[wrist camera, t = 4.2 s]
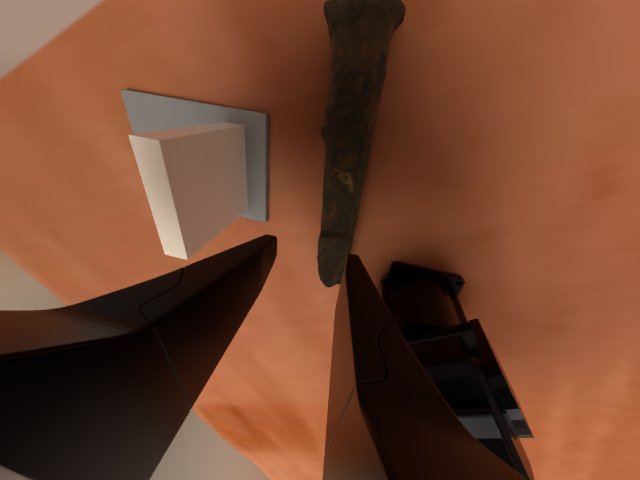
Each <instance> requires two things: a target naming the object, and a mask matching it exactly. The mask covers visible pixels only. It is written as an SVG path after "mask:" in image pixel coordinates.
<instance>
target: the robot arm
mask: <svg viewBox="0 0 640 480" xmlns="http://www.w3.org/2000/svg"><path fill="white" fill-rule="evenodd" d="M276 255H277V237H276V236H272V235H268V234H266V235H264V236H261V237H259V238H256V239H253V240H251V241H248V242H246V243H243V244H241V245H238V246H236V247H233V248H231V249H228V250H226V251H223V252H221V253H218V254H215V255H213V256H210V257H208V258H205V259H203V260H200V261H198V262H195V263H193V264H190V265H188V266H185V268H180V269H177V270H175V271H172V272H170V273H167V274H164V275H162V276H159V277H156V278H154V279H151V280H148V281H145V282H142V283H139V284H136V285H133V286H130V287H127V288H124V289H121V290H118V291H115V292H112V293H108V294H105V295H102V296H99V297H96V298H93V299H90V300H87V301H84V302H81V303H77V304H74V305H70V306H66V307H61V308H55V309H48V310H34V311H0V480H149V479H150V477H151V476H152V474H153V472H154V471H155V469H156V467H157V466H158V464H159V462H160V461H161V459H162V457H163V456H164V454H165V452H166V451H167V449H168V447H169V446H170V444H171V442H172V441H173V439H174V437H175V435H176V434H177V432H178V430H179V429H180V427H181V425H182V424H183V422H184V420H185V419H186V417H187V415H188V413H189V412H190V409H191V408H192V407H193V405H194V403H195V402H196V400H197V398H198V397H199V395H200V393H201V391H202V390H203V388H204V386H205V385H206V383H207V381H208V380H209V378H210V376H211V375H212V373H213V371H214V370H215V368H216V366H217V365H218V363H219V361H220V360H221V358H222V356H223V354H224V353H225V351H226V349H227V348H228V346H229V344H230V343H231V341H232V339H233V338H234V336H235V334H236V333H237V331H238V329H239V328H240V326H241V324H242V323H243V321H244V319H245V317H246V316H247V314H248V312H249V311H250V309H251V307H252V306H253V304H254V302H255V301H256V299H257V297H258V296H259V294H260V292H261V290H262V288H263V286H264V284H265V282H266V279H267V277H268V275H269V273H270V270H271V268H272V266H273V263H274V261H275V259H276ZM394 267H398V268H394ZM457 281H459V282H457ZM464 284H465V282H464V280H463V278H462V277H460V276H457V275H452V274H448V273H444V272H439V271H435V270H431V269H426V268H422V267H418V266H413V265H409V264H405V263H400V262H393V263H392V264H391V266H390V268H389V271H388V273H387V276H386V278H385V279H383V280H381V282H380V285H379V287H378V290H377V288H376V287H375V285H374V283H373V281H372V279H371V277H370V276H369V274H368V272H367V270H366V268H365V267H364V265H363V263H362V261H361V259H360V257H359V256H358V255H354V254H350V253H349V254H347V258H346V262H345V266H344V270H343V274H342V279H341V284H340V289H339V294H338V298H337V303H336V309H335V320H334V334H333V347H332V361H331V374H330V388H329V401H328V415H327V428H326V442H325V456H324V468H323V480H534V476H533V472H532V468H531V465H530V462H529V460H528V458H527V455H526V453H525V451H524V449H523V446H522V444H521V442H520V440H519V437H520V438H534V437H533V434H532V432H531V430H530V427H529V425H528V423H527V420H526V418H525V416H524V414H523V411H522V409H521V407H520V404H519V402H518V400H517V398H516V395H515V393H514V391H513V389H512V387H511V385H510V383H509V381H508V378H507V376H506V374H505V372H504V370H503V368H502V366H501V364H500V362H499V360H498V358H497V356H496V354H495V352H494V350H493V348H492V346H491V344H490V342H489V340H488V338H487V336H486V334H485V332H484V330H483V328H482V326H481V324H480V322H479V320H478V319H473V320H469V321H470V322H468V321H467V319H466V316H465V314H464V312H463V309H462V307H461V304H460V302H459V299H458V297H457V295H458V293H459V292H460V290H461V289H462V287H463V286H464Z"/></svg>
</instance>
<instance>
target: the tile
mask: <svg viewBox="0 0 640 480" xmlns="http://www.w3.org/2000/svg"><path fill="white" fill-rule="evenodd" d="M129 138H130V142H131V145H132V148H133V151H134V155H135V158H136V161H137V164H138V168H139V171H140V174H141V178H142V181H143V184H144V187H145V191H146V194H147V197H148V200H149V204H150V207H151V210H152V214H153V217H154V220H155V223H156V227H157V230H158V233H159V237H160V240H161V243H162V246H163V250H164V253H165V254H166V255H170V256H174V257H178V258H182V259H186V260H188V259H190V258H191V257H192V256H193V255H194V254H196V253H197V252H198V251H199V250H200V249H202V248H203V247H204V246H205V245H206V244H207V243H209V242H210V241H211V240H212V239H213V238H215V237H216V236H217V235H218V234H219V233H221V232H222V231H223V230H224V229H225V228H227V227H228V226H229V225H230V224H231V223H233V222H234V221H235V220H236V219H237V218H239V217H240V216H241V215H242V214H243V213H244V212H246V211H247V210H248V193H247V172H246V150H245V129H244V125H239V124H234V123H228V122H220V123H213V124H205V125H198V126H190V127H182V128H175V129H167V130H159V131H152V132H144V133H137V134H129Z"/></svg>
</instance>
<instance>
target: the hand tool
mask: <svg viewBox="0 0 640 480" xmlns="http://www.w3.org/2000/svg"><path fill="white" fill-rule="evenodd" d="M324 13H325V17H326V20H327V24H328V28H329V35H330V39H331V43H330V44H331V49H332V60H331V66H330V88H329V94H328V102H327V106H326V110H325V117H326V119H325V122H324V124H323V126H322V128H321V135H322V138H323V140H324V142H325V148H326V152H325V167H324V179H323V180H324V187H323V207H322V219H321V233H320V236H319V240H318V257H317V260H318V272H319V276H320V280H321V281H322V283H323V284H324V285H325V286H326V287H332V286H334V285H335V284H340V283H341V279H342V274H343V270H344V266H345V262H346V258H347V254H349V253H350V251H351V248H352V242H353V234H354V233H353V232H354V228H355V223H356V218H357V213H358V207H359V202H360V198H361V193H362V189H363V185H364V180H365V175H366V169H367V164H368V160H369V154H370V148H371V143H372V137H373V132H374V128H375V124H376V118H377V112H378V105H379V101H380V97H381V92H382V87H383V83H384V79H385V73H386V62H387V55H388V49H389V44H390V40H391V37H392V35H393V32H394V31H395V30H396V28H397V27H398V26H399V25H400V24H401V23H402V22H403V20H404V19H403V18H404V16H405V5H404V4H403V3H402V1H400V0H331V1H326V2H325V5H324Z"/></svg>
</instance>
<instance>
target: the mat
mask: <svg viewBox="0 0 640 480" xmlns="http://www.w3.org/2000/svg"><path fill="white" fill-rule="evenodd" d="M120 90H121V93H122V97H123V100H124V103H125V107H126V110H127V114H128V117H129V120H130V124H131V127H132V131H133V134H137V133H144V132H152V131H159V130H167V129H175V128H182V127H190V126H198V125H205V124H213V123H220V122H228V123H234V124H239V125H244V129H245V150H246V172H247V193H248V210H247V211H246V212H244V213H243V214H242V215H241V216H240V217H243V218H247V219H252V220H256V221H260V222H265V223H266V222H267V221H268V175H269V114H268V113H262V112H256V111H250V110H244V109H239V108H233V107H227V106H221V105H215V104H209V103H203V102H197V101H192V100H186V99H180V98H174V97H168V96H162V95H156V94H150V93H145V92H139V91H133V90H126V89H120Z"/></svg>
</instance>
